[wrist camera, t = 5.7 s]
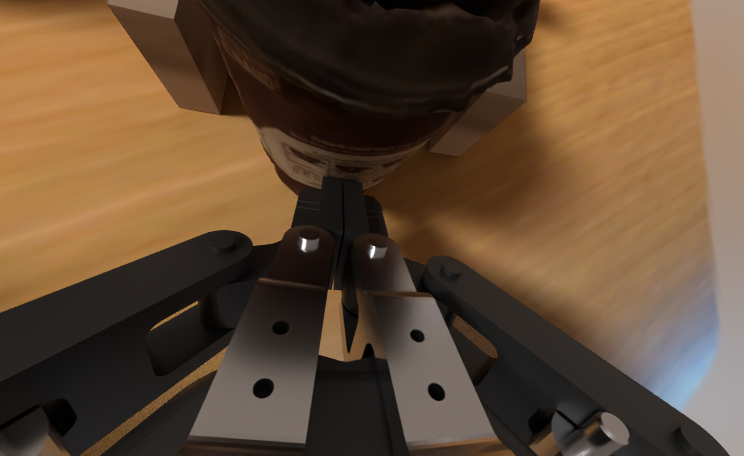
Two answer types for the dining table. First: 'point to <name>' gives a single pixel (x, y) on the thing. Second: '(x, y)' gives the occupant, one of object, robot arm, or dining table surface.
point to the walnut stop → (209, 73)
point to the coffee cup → (361, 75)
